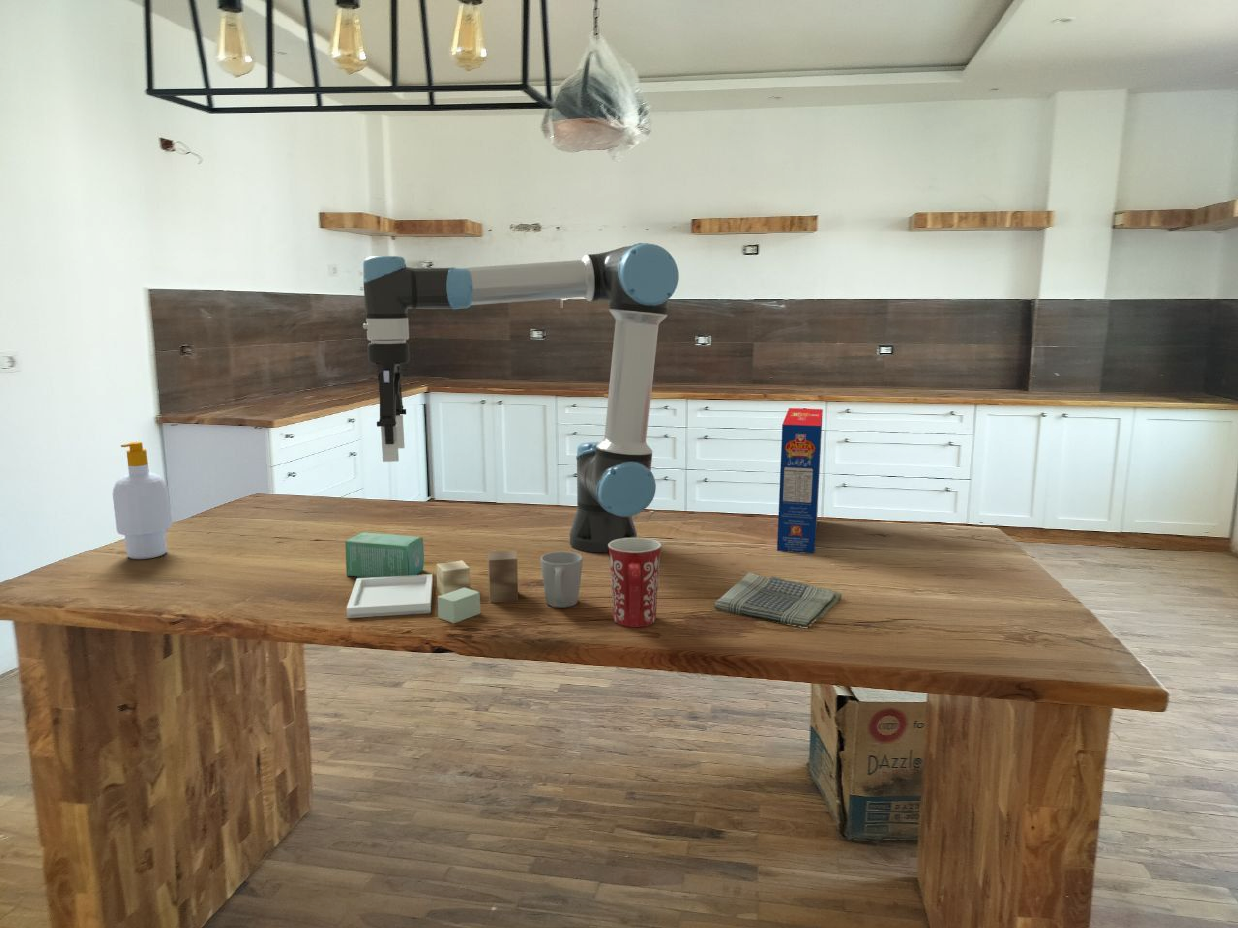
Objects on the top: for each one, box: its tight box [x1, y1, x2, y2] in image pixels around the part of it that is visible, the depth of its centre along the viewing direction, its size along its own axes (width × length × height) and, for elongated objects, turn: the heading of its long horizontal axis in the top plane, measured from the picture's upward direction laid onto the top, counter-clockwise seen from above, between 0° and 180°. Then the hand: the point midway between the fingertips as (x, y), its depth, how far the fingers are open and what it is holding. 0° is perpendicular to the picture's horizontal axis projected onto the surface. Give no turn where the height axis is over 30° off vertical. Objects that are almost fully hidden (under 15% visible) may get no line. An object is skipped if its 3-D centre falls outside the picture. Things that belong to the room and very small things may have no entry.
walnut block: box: [487, 550, 519, 604], centre depth 157 cm, size 5×5×8 cm
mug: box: [608, 537, 663, 628], centre depth 143 cm, size 13×9×14 cm
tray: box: [346, 573, 434, 619], centre depth 155 cm, size 14×16×2 cm
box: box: [345, 531, 425, 578], centre depth 170 cm, size 7×14×8 cm, turn 79°
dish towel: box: [713, 572, 843, 627], centre depth 155 cm, size 19×18×3 cm
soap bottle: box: [112, 441, 173, 560], centre depth 179 cm, size 10×10×24 cm
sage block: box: [437, 587, 481, 624], centre depth 148 cm, size 6×4×4 cm, turn 141°
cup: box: [540, 551, 584, 609], centre depth 153 cm, size 8×10×8 cm
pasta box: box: [776, 407, 824, 554], centre depth 196 cm, size 28×8×28 cm, turn 166°
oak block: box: [436, 560, 471, 595], centre depth 160 cm, size 5×5×5 cm
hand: (394, 454), depth 162 cm, fingers open, 13 cm apart
